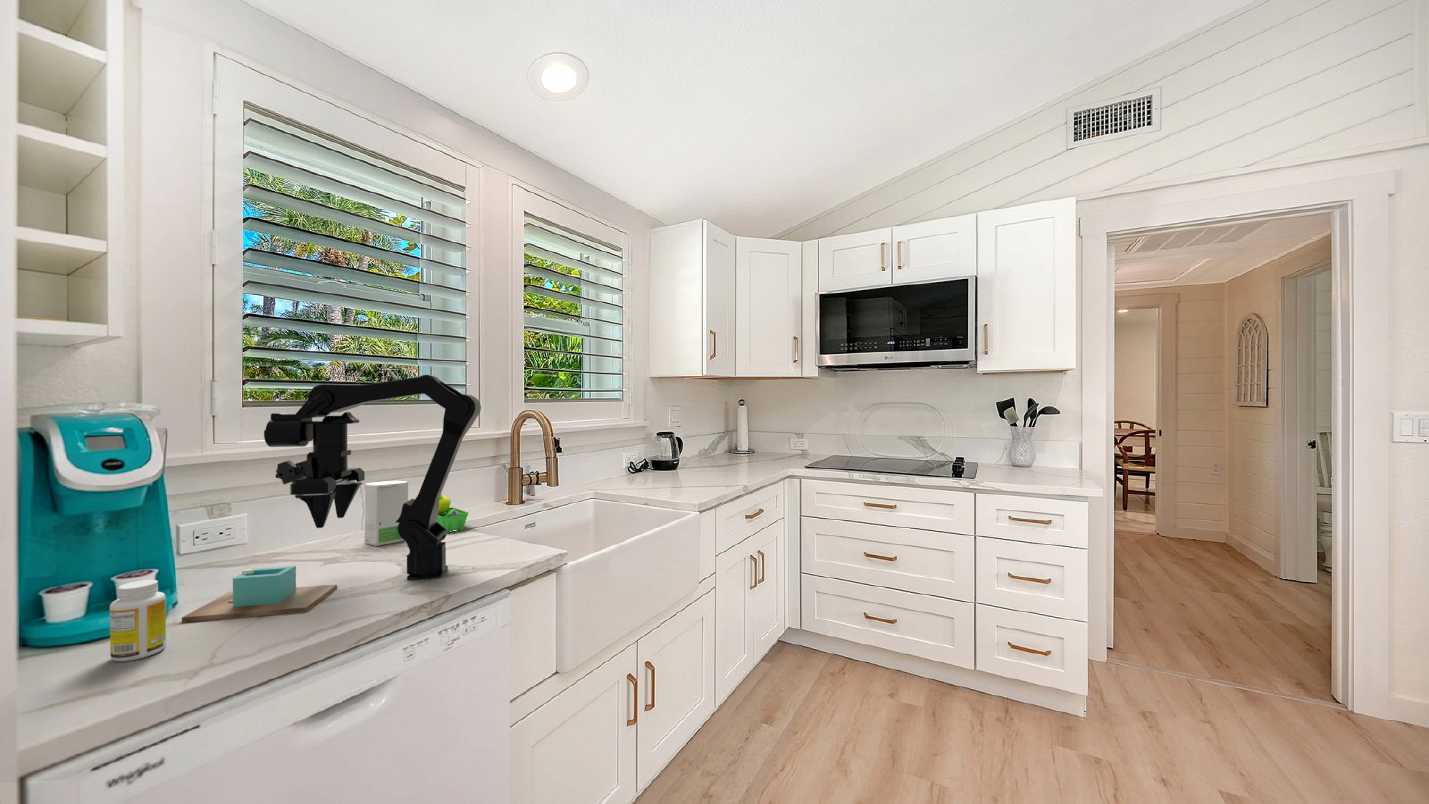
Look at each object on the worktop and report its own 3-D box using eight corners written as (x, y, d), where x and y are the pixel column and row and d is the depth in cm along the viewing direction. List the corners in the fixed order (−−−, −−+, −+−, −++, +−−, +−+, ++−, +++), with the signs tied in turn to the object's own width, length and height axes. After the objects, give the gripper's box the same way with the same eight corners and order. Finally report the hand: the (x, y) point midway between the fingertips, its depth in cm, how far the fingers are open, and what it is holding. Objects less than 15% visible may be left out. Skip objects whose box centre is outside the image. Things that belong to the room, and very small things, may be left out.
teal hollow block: (295, 592, 101) (295, 562, 101) (279, 603, 95) (279, 571, 95) (251, 595, 99) (251, 565, 99) (232, 607, 94) (232, 575, 94)
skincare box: (375, 547, 135) (375, 485, 135) (362, 543, 139) (362, 483, 139) (409, 539, 142) (409, 481, 142) (396, 536, 146) (396, 479, 146)
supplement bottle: (164, 642, 82) (163, 575, 82) (168, 653, 78) (167, 583, 78) (109, 655, 78) (108, 584, 78) (110, 667, 74) (110, 593, 74)
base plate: (337, 588, 105) (337, 582, 105) (306, 611, 94) (306, 605, 94) (228, 596, 101) (228, 590, 101) (181, 622, 89) (181, 615, 89)
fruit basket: (470, 530, 153) (469, 490, 153) (437, 536, 146) (437, 494, 146) (453, 524, 160) (452, 486, 160) (421, 529, 154) (421, 490, 154)
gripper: (307, 443, 116) (307, 515, 116) (257, 451, 98) (257, 536, 98) (365, 442, 119) (365, 512, 119) (326, 449, 101) (326, 532, 101)
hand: (330, 522), depth 109 cm, fingers open, 9 cm apart
